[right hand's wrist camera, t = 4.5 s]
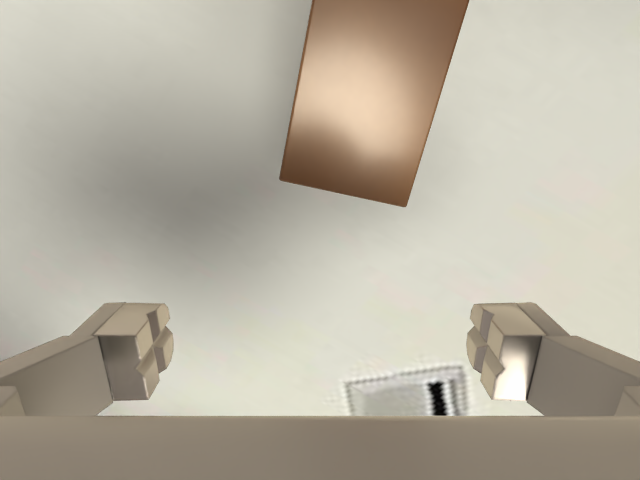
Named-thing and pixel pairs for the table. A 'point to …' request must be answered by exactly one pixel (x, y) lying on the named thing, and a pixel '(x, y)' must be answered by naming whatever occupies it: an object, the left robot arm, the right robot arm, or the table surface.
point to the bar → (369, 94)
